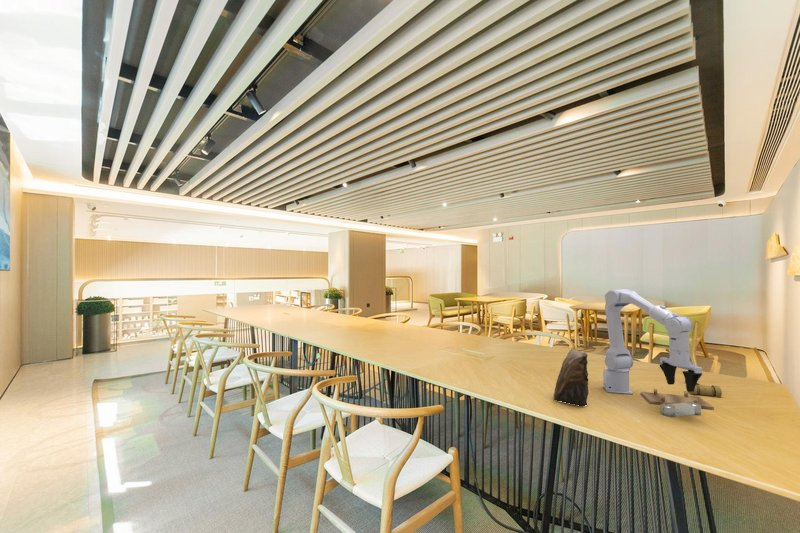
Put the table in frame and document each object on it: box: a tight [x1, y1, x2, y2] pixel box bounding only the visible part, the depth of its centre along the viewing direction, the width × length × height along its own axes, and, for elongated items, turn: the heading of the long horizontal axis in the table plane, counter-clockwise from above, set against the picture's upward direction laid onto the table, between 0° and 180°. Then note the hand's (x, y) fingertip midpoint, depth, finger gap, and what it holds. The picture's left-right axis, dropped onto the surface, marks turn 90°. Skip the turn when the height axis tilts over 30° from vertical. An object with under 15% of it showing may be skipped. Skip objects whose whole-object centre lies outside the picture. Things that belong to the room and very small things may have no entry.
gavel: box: [684, 380, 723, 398], centre depth 150 cm, size 21×5×10 cm
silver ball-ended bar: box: [660, 402, 702, 418], centre depth 124 cm, size 14×4×3 cm, turn 97°
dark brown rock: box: [553, 347, 589, 407], centre depth 137 cm, size 13×13×20 cm
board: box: [639, 388, 715, 411], centre depth 135 cm, size 20×11×3 cm, turn 72°
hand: (680, 387), depth 124 cm, fingers open, 7 cm apart
